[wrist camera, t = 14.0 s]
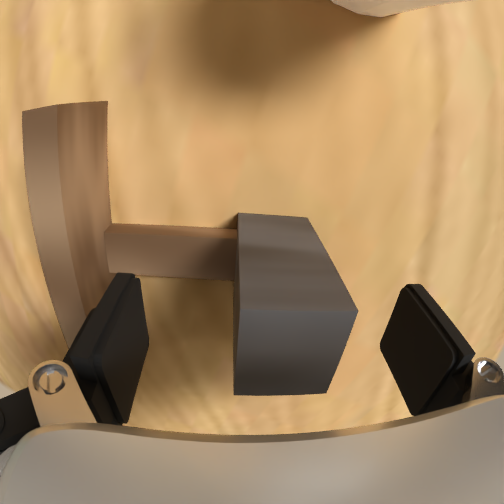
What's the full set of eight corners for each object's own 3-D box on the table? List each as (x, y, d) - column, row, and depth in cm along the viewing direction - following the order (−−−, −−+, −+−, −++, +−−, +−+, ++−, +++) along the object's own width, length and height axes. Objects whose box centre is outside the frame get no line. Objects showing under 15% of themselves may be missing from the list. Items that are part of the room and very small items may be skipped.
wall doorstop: (281, 353, 17) (297, 452, 11) (108, 340, 16) (74, 430, 10) (322, 108, 11) (404, 119, 5) (77, 104, 10) (-30, 122, 4)
